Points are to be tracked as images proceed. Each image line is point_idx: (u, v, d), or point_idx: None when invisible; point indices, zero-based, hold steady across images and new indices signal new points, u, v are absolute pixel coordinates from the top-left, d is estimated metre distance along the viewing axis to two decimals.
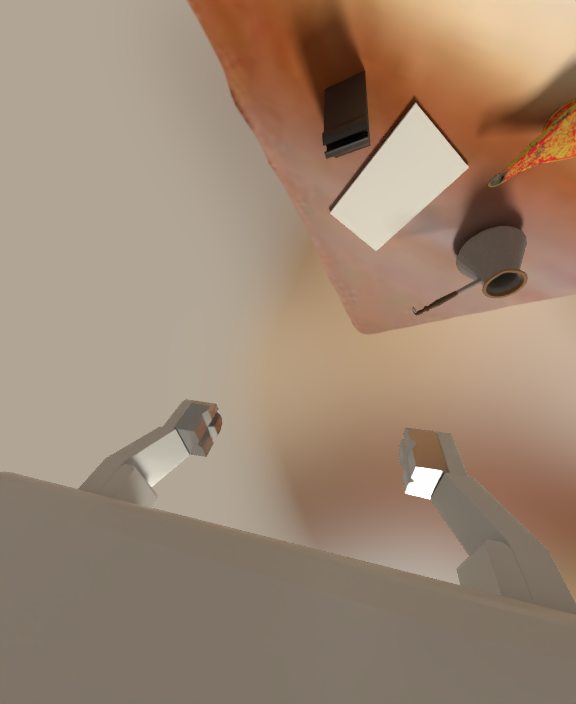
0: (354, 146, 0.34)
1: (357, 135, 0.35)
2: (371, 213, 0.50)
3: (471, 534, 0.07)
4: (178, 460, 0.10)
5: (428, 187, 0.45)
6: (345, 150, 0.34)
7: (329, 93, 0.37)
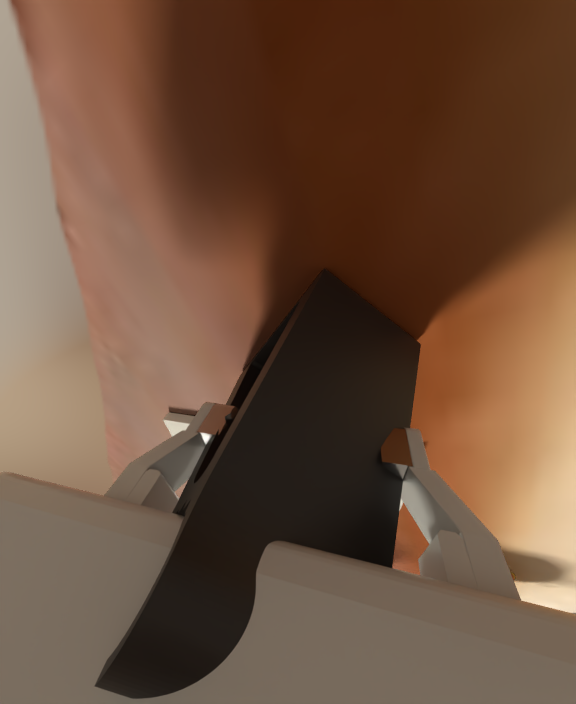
0: None
1: None
2: None
3: (432, 526, 0.07)
4: None
5: None
6: None
7: (327, 298, 0.10)
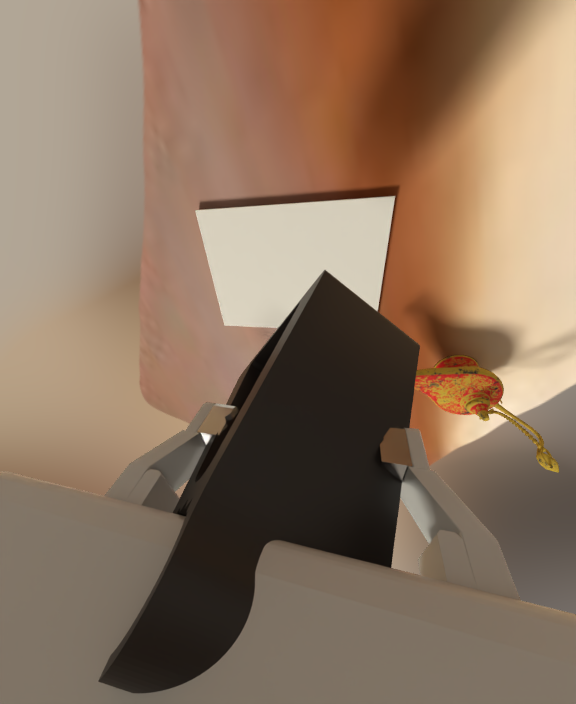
0: None
1: None
2: (250, 273, 0.29)
3: (431, 526, 0.07)
4: None
5: None
6: None
7: (328, 299, 0.10)
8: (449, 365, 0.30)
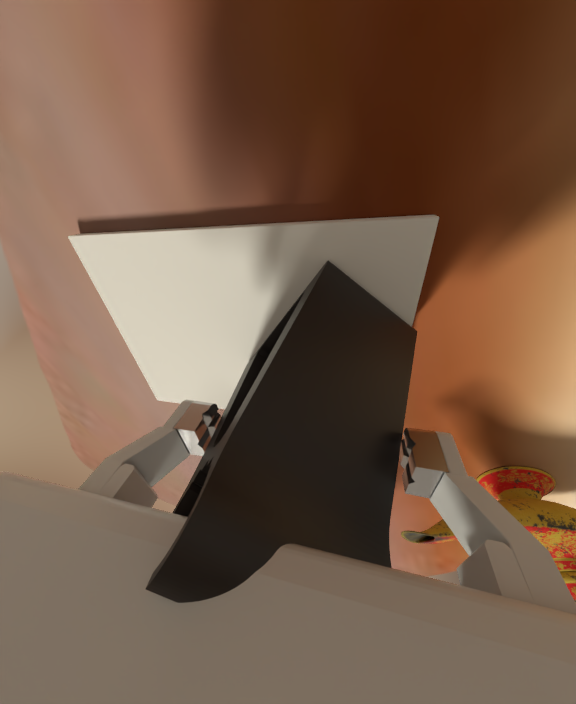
0: None
1: None
2: (179, 337, 0.17)
3: (471, 534, 0.07)
4: (178, 460, 0.10)
5: None
6: None
7: (331, 287, 0.11)
8: (507, 481, 0.19)
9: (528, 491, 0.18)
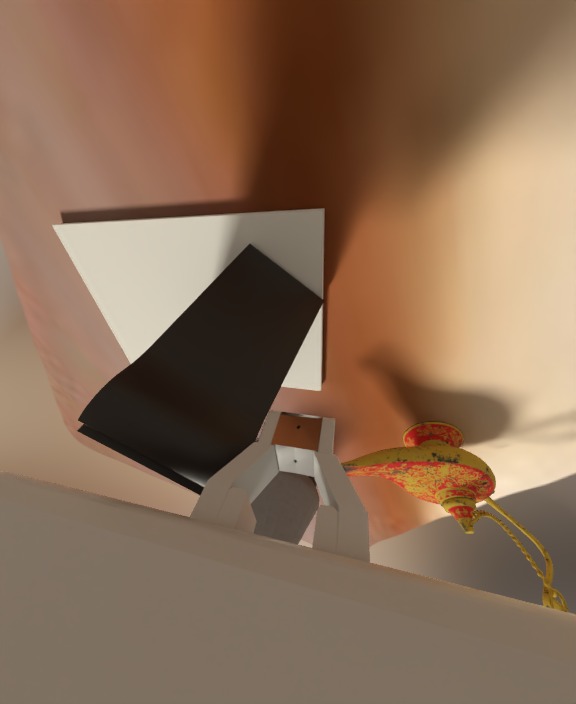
0: None
1: None
2: (147, 310, 0.21)
3: (329, 505, 0.08)
4: (270, 477, 0.09)
5: None
6: None
7: (247, 263, 0.14)
8: (423, 435, 0.22)
9: (438, 442, 0.21)
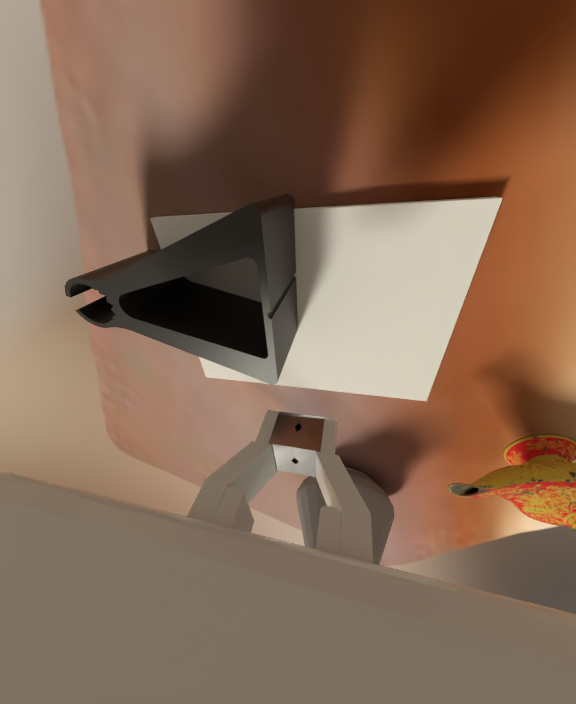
0: (110, 306, 0.16)
1: None
2: None
3: (331, 505, 0.08)
4: (267, 477, 0.09)
5: (358, 371, 0.19)
6: None
7: None
8: (536, 449, 0.20)
9: (556, 457, 0.20)
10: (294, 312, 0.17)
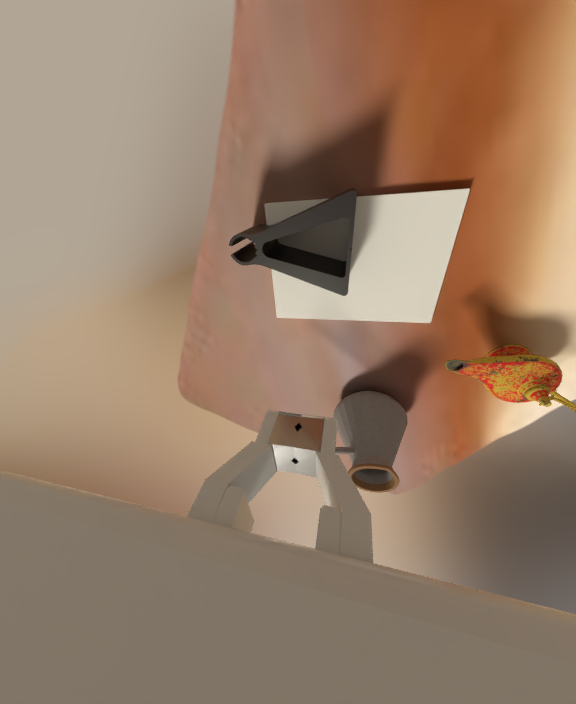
0: (241, 256, 0.26)
1: None
2: None
3: (331, 505, 0.08)
4: (267, 477, 0.09)
5: (386, 303, 0.30)
6: None
7: (338, 194, 0.24)
8: (502, 355, 0.31)
9: None
10: None
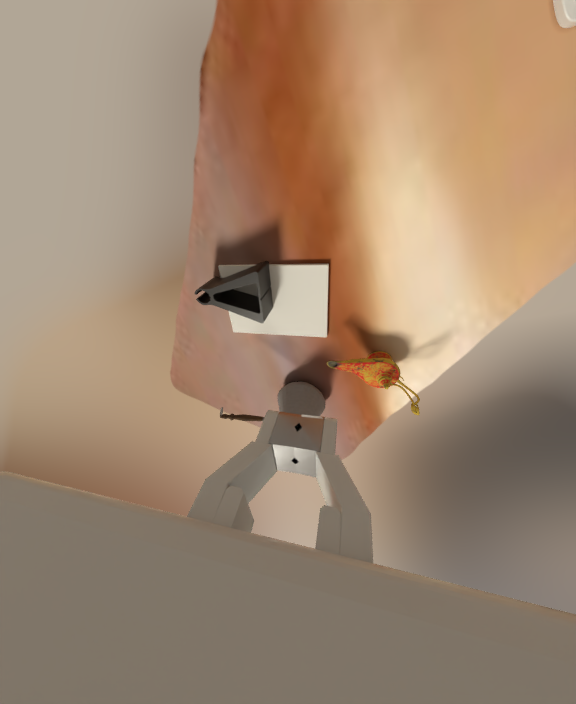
0: (204, 298, 0.44)
1: None
2: None
3: (331, 505, 0.08)
4: (267, 477, 0.09)
5: (298, 325, 0.48)
6: None
7: (258, 264, 0.42)
8: (374, 358, 0.48)
9: None
10: (270, 300, 0.45)
